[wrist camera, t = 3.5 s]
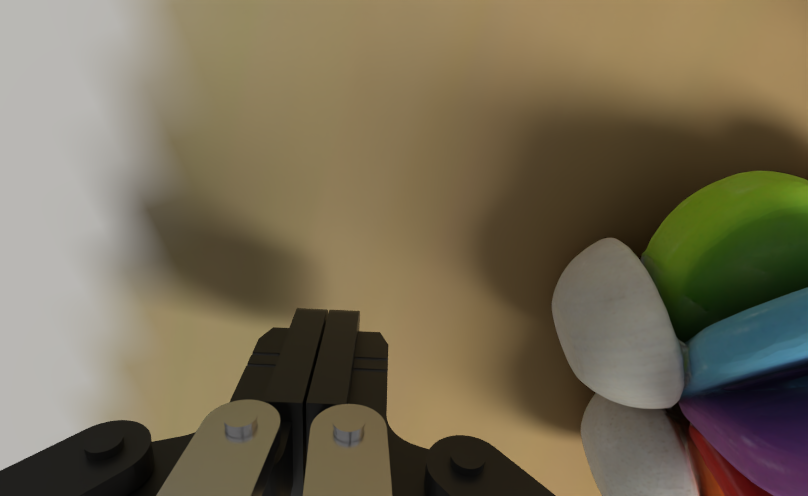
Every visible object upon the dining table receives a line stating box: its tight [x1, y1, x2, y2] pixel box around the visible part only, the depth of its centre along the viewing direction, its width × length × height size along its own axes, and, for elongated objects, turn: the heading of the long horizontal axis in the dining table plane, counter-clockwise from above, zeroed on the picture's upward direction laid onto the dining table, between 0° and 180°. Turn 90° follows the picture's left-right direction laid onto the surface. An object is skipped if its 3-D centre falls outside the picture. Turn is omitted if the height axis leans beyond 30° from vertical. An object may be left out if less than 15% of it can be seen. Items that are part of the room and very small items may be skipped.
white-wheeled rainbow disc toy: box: [552, 171, 808, 496], centre depth 11 cm, size 8×10×7 cm
